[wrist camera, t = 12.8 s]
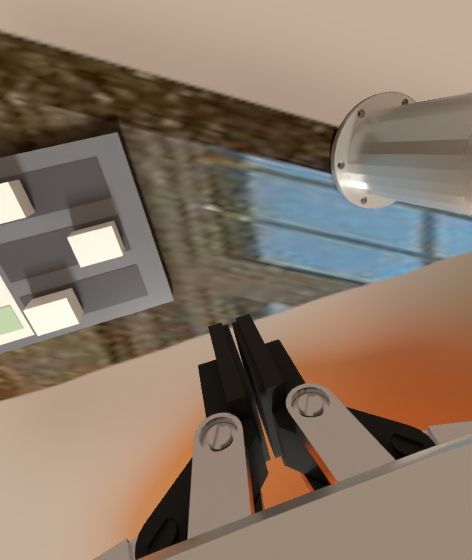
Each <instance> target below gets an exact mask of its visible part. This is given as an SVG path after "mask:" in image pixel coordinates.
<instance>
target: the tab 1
mask: <svg viewBox="0 0 472 560" xmlns="http://www.w3.org/2000/svg"><path fill="white" fill-rule="evenodd" d="M33 213H35V211H34V209H33V207H32V205H31V203H30V200H29V198H28V196H27V194H26V192H25V190H24V188H23V186H22V184H21V182H20V180H15V181H10V182H6V183H1V184H0V224H2V223H6V222H10V221H14V220H18V219H22V218H26V217H28V216H30V215H32V214H33Z"/></svg>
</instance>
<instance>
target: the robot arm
mask: <svg viewBox="0 0 472 560" xmlns="http://www.w3.org/2000/svg"><path fill="white" fill-rule="evenodd" d="M338 164H339V165H338ZM331 171H332V176H333V180H334V183H335V185H336V187H337V189H338V191H339V192H340V194H341V195H342V196H343V197H344V198H345V199H346V200H347V201H349V202H350V203H352V204H354V205H356V206H360V207H363V208H370V209H373V208H381V207H385V206H388V205H390V204H392V203H394V202H396V201H401V202H406V203H411V204H416V205H421V206H426V207H431V208H436V209H441V210H446V211H451V212H456V213H461V214H466V215H471V216H472V93H467V94H462V95H456V96H450V97H445V98H439V99H434V100H428V101H423V102H415V101H414V100H413V99H412V98H410V97H409V96H407V95H404V94H402V93H397V92H385V93H380V94H377V95H373V96H371V97H369V98H367V99H364V100H363V101H361V102H360V103H359V104H357V105H356V106H355V107H354V108H353V109H352V110H351V111H350V112H349V113H348V114H347V116H346V117H345V119H344V120H343V122H342V123H341V125H340V127H339V129H338V131H337V133H336V135H335V139H334V142H333V146H332V152H331ZM236 321H237V322H234V323H232V326H233V330H234V333H235V337H236V341H237V344H238V348H239V352H240V355H241V359H242V362H241V359H240V357H239V354H238V351H237V349H236V346H235V343H234V340H233V337H232V335H231V332H230V329H229V326H228V324H227V325H224V326H222V323H218V324H215V325H212V326H209V327H208V328H209V332H210V336H211V340H212V344H213V348H214V351H215V356H216V360H213V361H210V362H207V363H204V364H200V365H198V369H199V375H200V382H201V388H202V394H203V400H204V407H205V413H206V419H205V420H204V421H203V422H202V423H201V424H200V425H199V426H198V428H197V430H196V432H195V436H194V445H193V457H192V458H191V460H190V461H189V463H188V464H187V465H186V467H185V468H184V470H183V471H182V472H181V474H180V475H179V477H178V478H177V479H176V481H175V482H174V484H173V485H172V486H171V488H170V489H169V490H168V492H167V493H166V495H165V496H164V498H163V499H162V500H161V502H160V503H159V504H158V506H157V507H156V509H155V510H154V511H153V513H152V514H151V516H150V517H149V518H148V520H147V521H146V523H145V524H144V526H143V527H142V529H141V531H140V533H139V535H138V537H136V538H134V539H133V540H131V541H130V542H129V541H128V539H127V538H126V539H125V540H123V541H122V542H120V543H119V544H117V545H115V546H114V547H112V548H111V549H109V550H108V551H106V552H105V553H103V554H101V555H100V556H98V557H97V558H95V559H94V560H472V421H469V422H461V423H452V424H444V425H435V426H428V430H427V431H421V430H419V429H417V428H414V427H412V426H409V425H405V424H402V423H399V422H396V421H392V420H389V419H385V418H382V417H378V416H375V415H372V414H368V413H365V412H361V411H358V410H355V409H351V408H348V407H345V406H344V405H343V404H342V403H341V402H340V401H339V400H338V399H337V398H336V397H335V396H334V395H333V394H332V392H331V391H329V390H328V389H327V388H326V387H324V386H321V385H319V384H312V383H309V384H306V383H305V382H304V380H303V378H302V377H301V375H300V373H299V372H298V370H297V369H296V367H295V365H294V363H293V362H292V360H291V358H290V357H289V355H288V354H287V352H286V350H285V349H284V347H283V345H282V344H281V342H280V341H279V340H275V341H272V342H269V343H266V344H265V343H264V341H263V340H262V338H261V336H260V334H259V332H258V330H257V328H256V326H255V324H254V322H253V320H252V318H251V316H250V314H247V315H244V316H241V317H238V318H236ZM242 363H243V365H242ZM243 367H244V368H243ZM256 406H257V407H256ZM257 409H258V411H257ZM258 412H259V414H260V417H261V420H262V422H263V425H264V428H265V430H266V434H267V436H268V439H269V442H270V445H271V447H272V450H273V453H274V456H275V457H276V458H277V457H280V456H281V457H282V460H283V462H284V465H285V466H288V467H290V468H292V469H295V470H297V471H299V472H300V474H301V477H302V479H303V481H304V483H305V484H306V486H307V488H308V489H309V491H310V493H308V494H305V495H302V496H300V497H297V498H294V499H292V500H289V501H287V502H284V503H281V504H279V505H276V506H274V507H271V508H268V509H265V506H264V500H263V493H262V490H261V487H262V485H263V483H264V481H265V479H266V477H267V475H268V470H267V467H266V463H265V462H266V461H269V460H270V456H269V452H268V448H267V445H266V441H265V437H264V433H263V430H262V426H261V422H260V418H259V415H258Z"/></svg>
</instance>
